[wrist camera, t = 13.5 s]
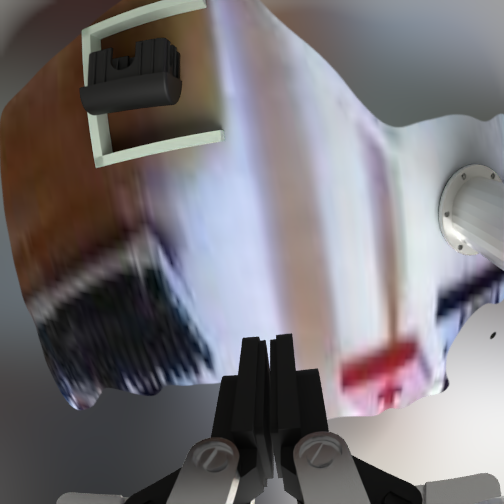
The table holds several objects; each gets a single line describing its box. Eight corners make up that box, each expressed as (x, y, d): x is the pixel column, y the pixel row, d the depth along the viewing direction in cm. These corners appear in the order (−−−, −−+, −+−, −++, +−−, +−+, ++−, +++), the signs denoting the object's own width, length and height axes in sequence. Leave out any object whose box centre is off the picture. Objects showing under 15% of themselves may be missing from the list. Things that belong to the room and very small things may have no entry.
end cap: (107, 116, 33) (78, 115, 26) (108, 64, 30) (80, 53, 24) (183, 107, 32) (165, 101, 26) (184, 51, 30) (167, 34, 23)
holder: (205, 0, 27) (200, -10, 24) (225, 140, 33) (221, 141, 31) (92, 35, 28) (81, 30, 26) (106, 165, 35) (95, 168, 32)
